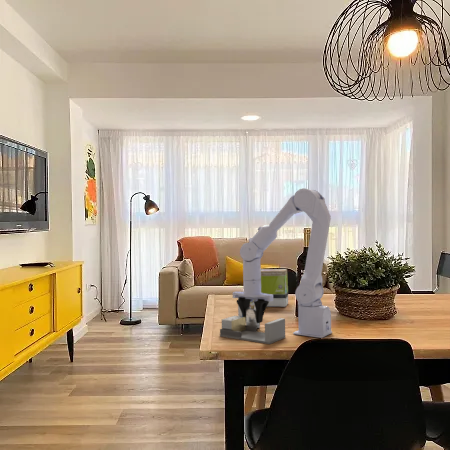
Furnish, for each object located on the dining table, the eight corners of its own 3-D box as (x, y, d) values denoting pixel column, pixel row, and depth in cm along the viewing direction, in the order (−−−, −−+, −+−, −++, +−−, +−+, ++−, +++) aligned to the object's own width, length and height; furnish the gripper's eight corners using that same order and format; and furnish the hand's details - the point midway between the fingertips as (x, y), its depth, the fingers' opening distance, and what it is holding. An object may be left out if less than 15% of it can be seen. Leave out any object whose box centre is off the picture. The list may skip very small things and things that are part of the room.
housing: (262, 326, 151) (262, 305, 151) (255, 329, 147) (254, 307, 147) (251, 324, 154) (250, 303, 154) (243, 327, 150) (243, 305, 150)
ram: (245, 329, 144) (245, 316, 144) (232, 334, 139) (232, 320, 139) (235, 328, 147) (234, 315, 147) (221, 332, 141) (221, 319, 141)
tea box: (288, 303, 196) (287, 268, 196) (285, 307, 187) (285, 270, 187) (253, 302, 200) (253, 268, 200) (249, 306, 190) (248, 270, 190)
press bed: (285, 337, 137) (285, 318, 137) (269, 344, 130) (269, 324, 130) (236, 330, 148) (236, 312, 148) (219, 336, 140) (219, 317, 140)
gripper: (277, 279, 149) (278, 321, 149) (240, 277, 158) (241, 317, 158) (266, 282, 144) (267, 325, 144) (228, 279, 152) (229, 320, 152)
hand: (252, 321), depth 151 cm, fingers closed on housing, 4 cm apart
